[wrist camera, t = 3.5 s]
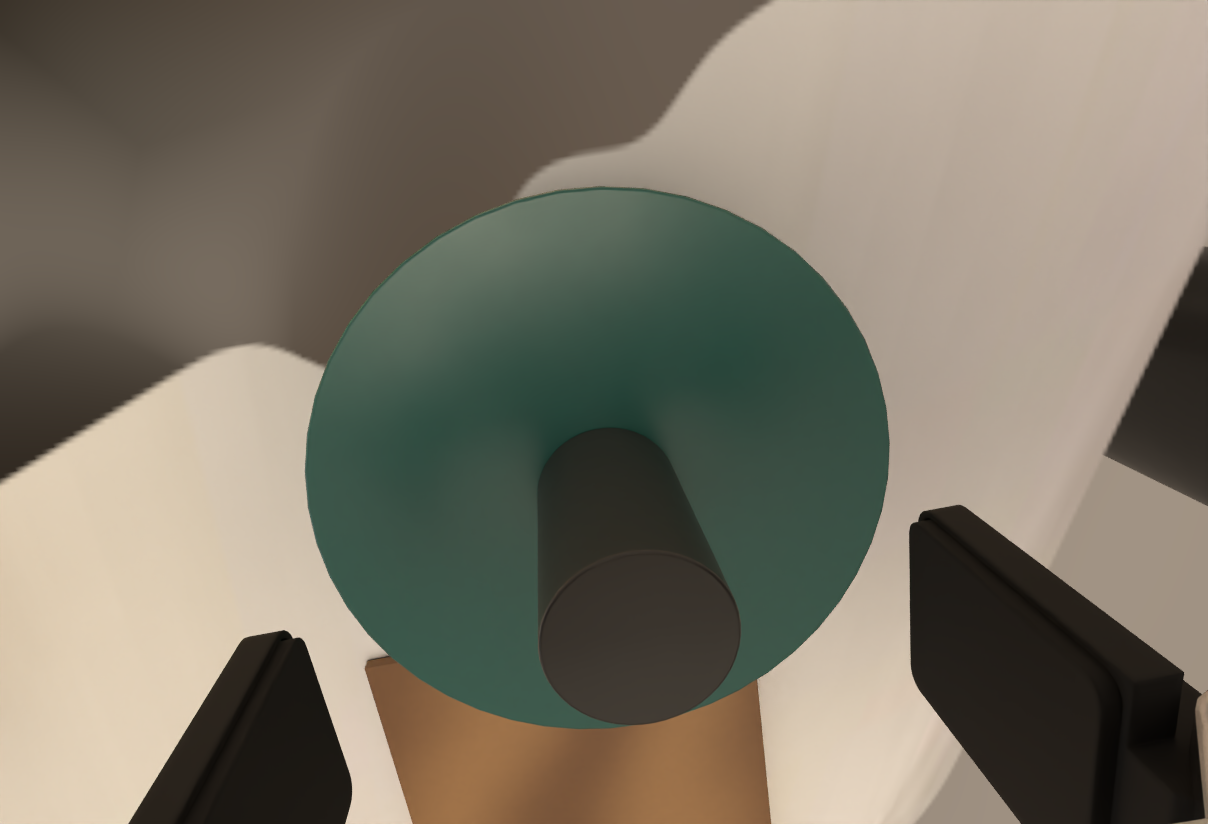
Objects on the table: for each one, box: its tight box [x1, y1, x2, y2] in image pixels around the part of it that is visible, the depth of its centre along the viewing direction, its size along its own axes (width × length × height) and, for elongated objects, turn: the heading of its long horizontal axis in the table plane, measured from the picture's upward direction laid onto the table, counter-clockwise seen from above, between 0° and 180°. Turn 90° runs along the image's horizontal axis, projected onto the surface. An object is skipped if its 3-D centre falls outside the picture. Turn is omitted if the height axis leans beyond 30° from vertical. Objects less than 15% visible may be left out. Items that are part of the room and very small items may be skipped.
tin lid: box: [305, 186, 890, 729], centre depth 14 cm, size 13×13×7 cm
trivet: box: [365, 657, 771, 824], centre depth 30 cm, size 15×15×1 cm
